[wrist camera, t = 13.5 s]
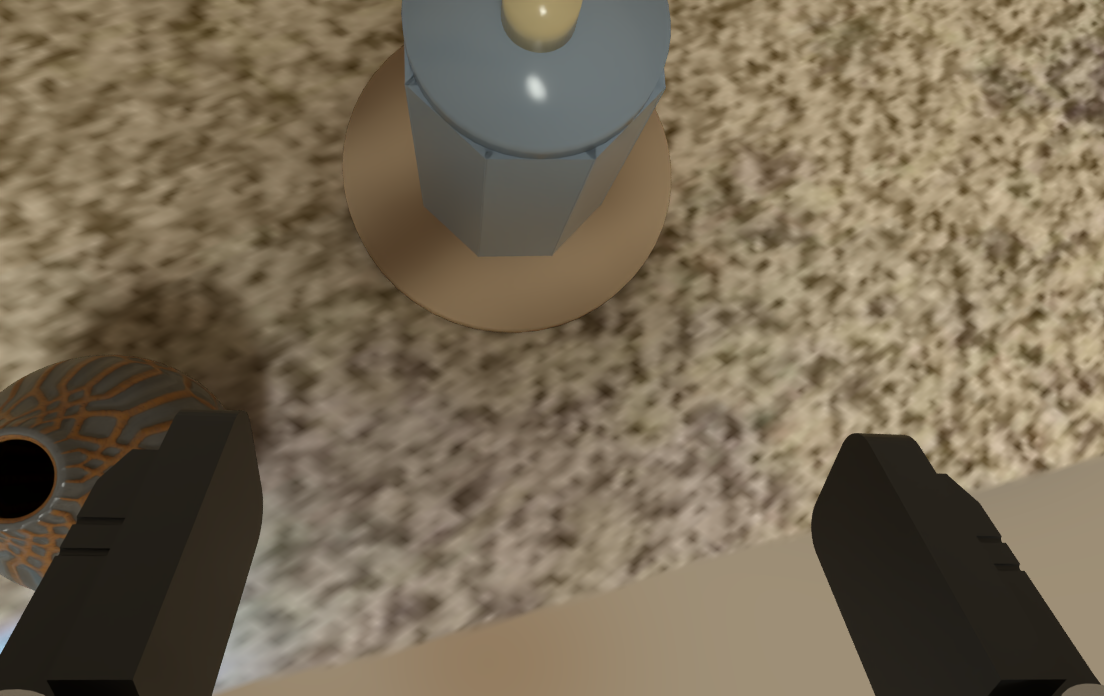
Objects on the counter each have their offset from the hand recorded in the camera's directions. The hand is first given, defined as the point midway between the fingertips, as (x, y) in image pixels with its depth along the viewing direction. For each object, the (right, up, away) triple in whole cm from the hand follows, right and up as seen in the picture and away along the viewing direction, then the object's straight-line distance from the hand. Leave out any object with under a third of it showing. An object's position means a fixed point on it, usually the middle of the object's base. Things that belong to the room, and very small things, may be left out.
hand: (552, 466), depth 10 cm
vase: (-13, -3, +16) cm, 21 cm away
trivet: (-2, +8, +18) cm, 20 cm away
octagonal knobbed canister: (-1, +8, +18) cm, 19 cm away
